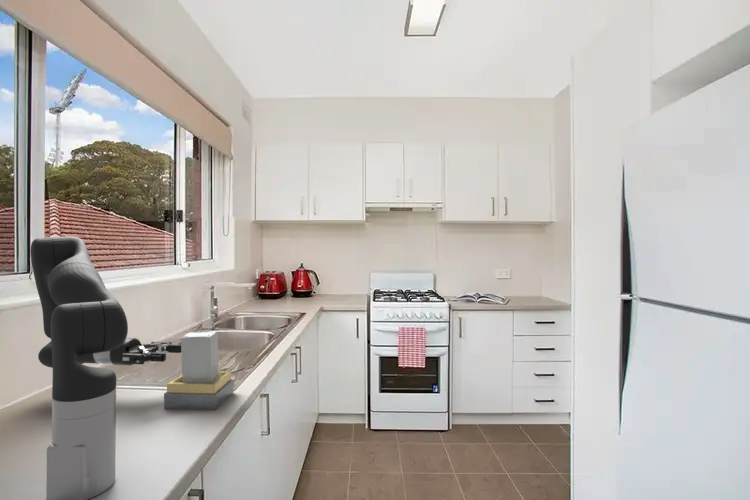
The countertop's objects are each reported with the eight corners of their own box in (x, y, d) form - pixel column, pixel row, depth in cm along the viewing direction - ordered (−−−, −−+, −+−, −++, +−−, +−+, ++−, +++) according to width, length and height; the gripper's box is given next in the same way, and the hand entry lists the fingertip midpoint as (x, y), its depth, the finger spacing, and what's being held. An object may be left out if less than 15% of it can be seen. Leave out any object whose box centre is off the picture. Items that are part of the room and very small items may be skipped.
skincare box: (219, 382, 113) (219, 331, 113) (211, 390, 107) (211, 336, 107) (189, 382, 113) (190, 331, 113) (179, 390, 107) (180, 335, 106)
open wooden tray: (215, 409, 104) (216, 385, 104) (163, 408, 104) (164, 384, 104) (237, 389, 119) (237, 367, 119) (191, 388, 119) (191, 366, 119)
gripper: (99, 344, 103) (159, 346, 103) (134, 332, 118) (187, 333, 117) (99, 372, 104) (159, 374, 103) (133, 357, 118) (186, 358, 117)
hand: (174, 352), depth 110 cm, fingers open, 8 cm apart
